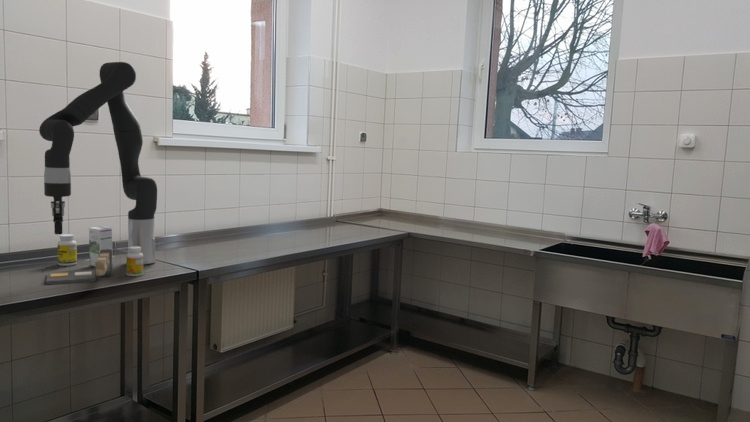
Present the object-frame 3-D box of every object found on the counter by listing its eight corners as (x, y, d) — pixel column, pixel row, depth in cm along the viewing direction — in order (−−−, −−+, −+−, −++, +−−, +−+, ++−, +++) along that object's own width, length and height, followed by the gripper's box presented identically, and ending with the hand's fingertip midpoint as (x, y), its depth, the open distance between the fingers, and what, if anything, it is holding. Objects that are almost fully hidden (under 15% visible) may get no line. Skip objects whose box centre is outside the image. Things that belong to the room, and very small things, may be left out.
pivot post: (112, 274, 190) (112, 262, 190) (113, 276, 187) (112, 265, 186) (99, 274, 188) (99, 263, 188) (100, 277, 185) (99, 265, 184)
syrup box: (113, 265, 203) (113, 227, 202) (99, 268, 198) (99, 228, 196) (102, 263, 206) (102, 225, 204) (88, 266, 200) (88, 227, 199)
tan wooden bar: (100, 262, 188) (100, 249, 188) (112, 262, 189) (112, 249, 189) (93, 276, 169) (92, 261, 168) (105, 275, 170) (105, 261, 169)
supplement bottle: (123, 274, 190) (123, 247, 189) (137, 272, 195) (137, 245, 194) (132, 277, 187) (131, 249, 186) (146, 274, 192) (146, 247, 191)
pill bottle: (53, 264, 200) (53, 235, 199) (68, 262, 206) (68, 233, 205) (66, 266, 198) (65, 236, 197) (80, 263, 204) (80, 234, 202)
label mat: (94, 272, 192) (94, 268, 192) (95, 281, 180) (95, 276, 180) (48, 274, 185) (48, 270, 185) (46, 284, 173) (46, 280, 173)
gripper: (70, 183, 173) (71, 236, 175) (70, 180, 185) (71, 230, 187) (43, 182, 170) (44, 237, 172) (45, 180, 181) (46, 231, 183)
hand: (58, 233), depth 179 cm, fingers closed
